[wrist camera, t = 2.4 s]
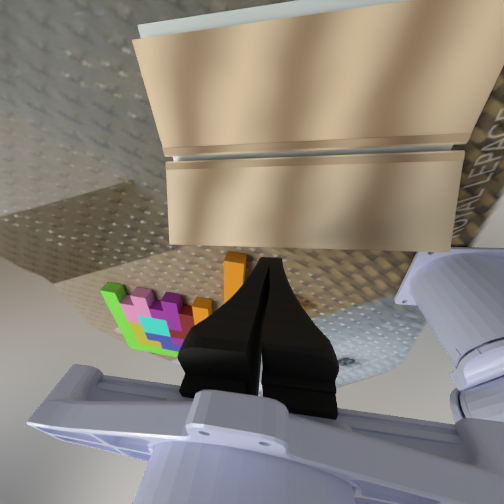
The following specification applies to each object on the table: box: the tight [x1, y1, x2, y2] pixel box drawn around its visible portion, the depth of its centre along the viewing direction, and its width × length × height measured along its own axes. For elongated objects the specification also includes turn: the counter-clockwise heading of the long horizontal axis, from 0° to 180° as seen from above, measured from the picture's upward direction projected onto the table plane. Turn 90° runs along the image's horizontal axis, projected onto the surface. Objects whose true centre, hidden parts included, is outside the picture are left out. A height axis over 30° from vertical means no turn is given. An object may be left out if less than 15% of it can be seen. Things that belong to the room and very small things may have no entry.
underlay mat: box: [138, 0, 453, 161], centre depth 17 cm, size 22×17×1 cm
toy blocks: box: [100, 252, 247, 357], centre depth 32 cm, size 23×2×25 cm
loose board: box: [166, 150, 465, 252], centre depth 17 cm, size 22×7×1 cm, turn 94°
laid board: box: [132, 0, 504, 157], centre depth 14 cm, size 22×7×1 cm, turn 94°
